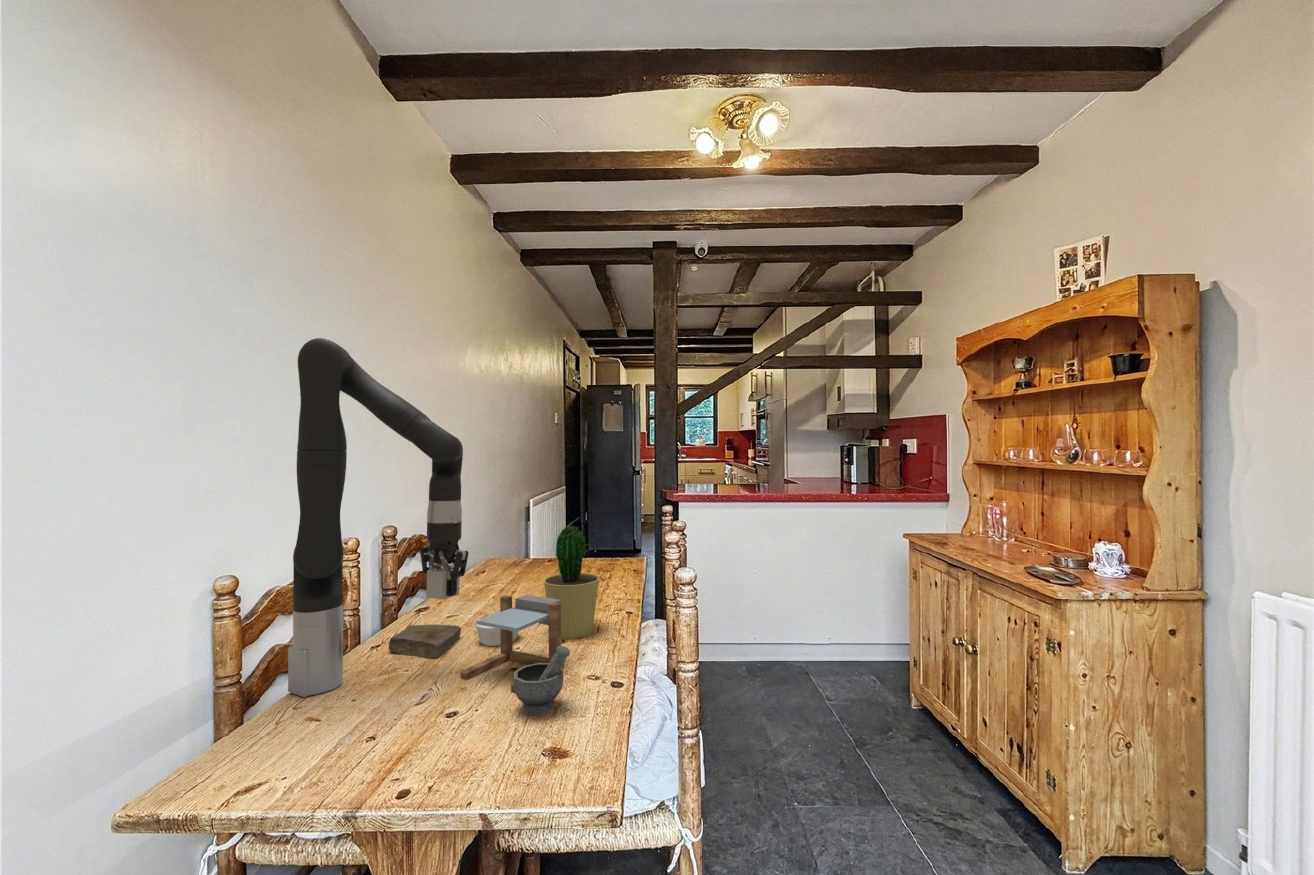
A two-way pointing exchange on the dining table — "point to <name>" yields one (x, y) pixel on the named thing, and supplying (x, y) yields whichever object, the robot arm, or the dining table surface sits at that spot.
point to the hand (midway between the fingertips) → (442, 593)
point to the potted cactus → (573, 585)
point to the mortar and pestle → (540, 683)
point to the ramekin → (491, 635)
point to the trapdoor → (521, 614)
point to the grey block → (438, 584)
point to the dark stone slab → (425, 640)
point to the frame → (507, 643)
